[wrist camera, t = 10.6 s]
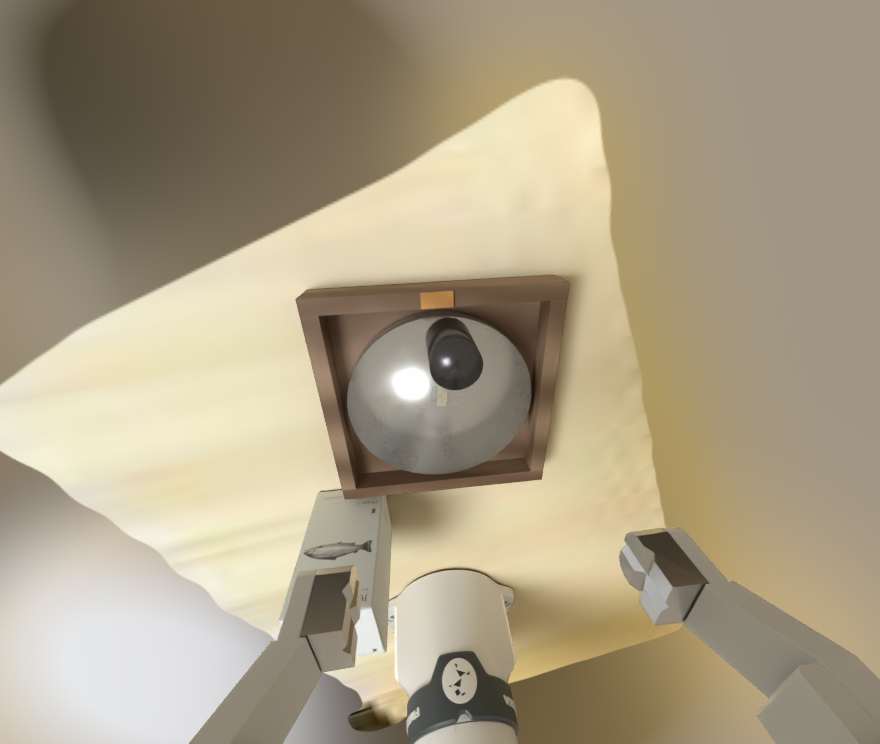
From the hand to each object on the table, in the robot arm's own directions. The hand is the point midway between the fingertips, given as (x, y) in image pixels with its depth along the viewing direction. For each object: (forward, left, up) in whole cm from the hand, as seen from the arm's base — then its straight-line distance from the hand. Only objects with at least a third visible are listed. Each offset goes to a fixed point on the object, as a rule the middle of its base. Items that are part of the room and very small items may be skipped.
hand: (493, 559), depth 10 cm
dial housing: (-6, 0, -21) cm, 22 cm away
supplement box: (-21, +10, -21) cm, 31 cm away
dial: (-6, 0, -20) cm, 21 cm away
